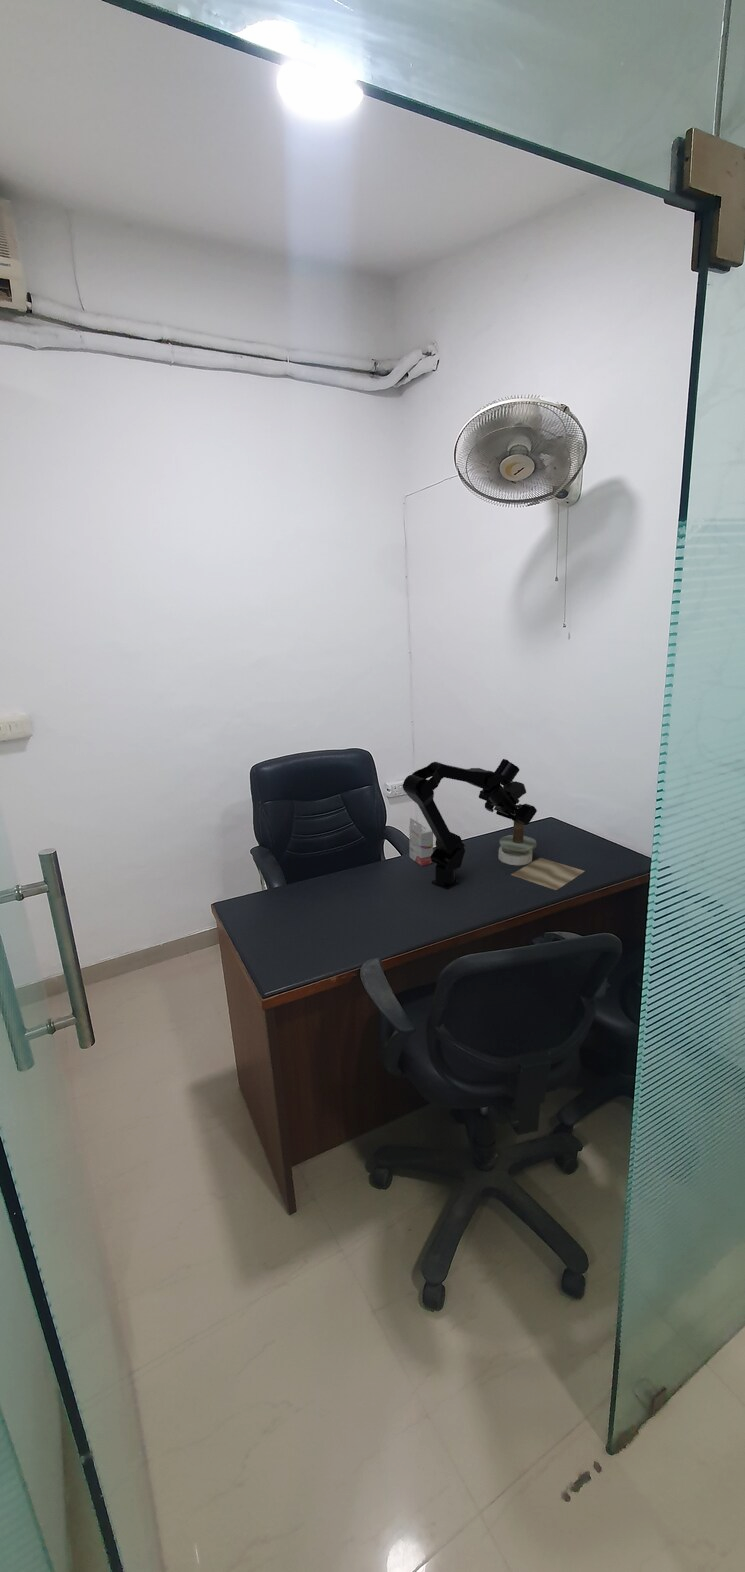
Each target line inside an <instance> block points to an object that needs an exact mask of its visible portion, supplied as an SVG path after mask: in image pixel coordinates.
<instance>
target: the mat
mask: <svg viewBox="0 0 745 1572" xmlns="http://www.w3.org/2000/svg"><path fill="white" fill-rule="evenodd" d="M585 871H586V870H583V869H579V868H576V867H573V866H570V865H566V864H563V863H559V862H558V861H557V862H556V861H553V860H550V859H547V858H543V857H539V858H537V859H535V860H533V861H532V862H530V863H528V864H526V865H525V866H523V867H522V868H520V869H518V870H517V871H515V872H513V873H511V874H510V875H511V876H513V877H516V878H519V879H522V880H525V881H527V882H530V883H534V884H537V885H538V886H539V885H540V886H542V887H545V888H548V889H551V890H555V891H557V890H559V889H560V888H562V887H564V886H565V885H567V884H568V883H570V882H571V881H573V880H574V879H576V878H577V877H579V876H580V875H582V874H583V873H585Z"/></svg>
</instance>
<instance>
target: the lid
mask: <svg viewBox="0 0 745 1572" xmlns="http://www.w3.org/2000/svg"><path fill="white" fill-rule="evenodd" d="M514 816H515V815H514ZM512 828H513V829H512V831H513V832H512V834H509V835H504V836H502V837H501V838H500V839H499V845H500V847H501V846H502V847H503V848H505V849H508V850H513V851H529V850H534V849H536V847H537V840H536V839H535V838H532V837H530V836H527V835H524V832H525V825H524V824H521V823H518V822H516V821H513V827H512Z"/></svg>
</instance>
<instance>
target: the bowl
mask: <svg viewBox="0 0 745 1572" xmlns="http://www.w3.org/2000/svg"><path fill="white" fill-rule="evenodd" d="M533 850H534V849H532V850H529V851H513V850H508V849H505V848H503V847H502V846H501V845H500V846H499V847H498V858H497V859H498V860H499V861H501V862H502V863H504V864H507V865H511V866H512V865H513V866H524V865H525V866H526V865H528V864H530V863H532V862H533Z"/></svg>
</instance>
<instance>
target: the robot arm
mask: <svg viewBox="0 0 745 1572" xmlns="http://www.w3.org/2000/svg"><path fill="white" fill-rule="evenodd" d="M519 772H520V768H519V767H518V766H517V765H515V764H514V763H512V762H510V761H509V759H506V758H502V760H501V761H500V763H499V765H498V766H497V768H496V769H495V771H491V770H486V769H483V768H480V767H471V768H463V767H458V766H453V765H448V764H444V763H441V762H438V761H433V762H431V763H429V764H428V765H427V766H425V767H423V768H420V769H417V770H415V771H414V772H413V773H412V774H409V775H407V776H406V777H405V779H404V780H403V783H402V789H403V791H404V792H405V794H406V795H407V796H408V797H409V798H410V799H411V800H412V801H413V802H414V803H416V805H417V806H418V808H419V809H420V811H421V813H422V815H423V817H424V819H425V820H426V823H427V824H428V826H429V829H431V830H432V832H433V836H434V837H435V849H434V850H433V854H432V855H431V856H430V858H431V861H432V862H433V864H436V865H435V879H433V880H432V881H431V883H432V884H434V885H436V886H438V887H440V888H443V889H446V890H448V889H450V888H452V887H454V886H456V885H458V884H460V883H461V881H460V880H459V879H457V869H460V868H461V866H462V862H463V860H464V856H465V852H466V850H465V847H466V845H465V844H464V843H463V840H462V837H461V836H460V835H458V834H456V833H454V832H452V831H450V829H449V827H448V825H447V824H446V822H445V820H444V818H443V816H442V814H441V812H440V809H439V808H438V806H437V804H436V802H435V800H434V797H435V796H434V795H435V791H434V790H436V789H437V788H438V787H439V785H440V783H441V781H442V779H445V778H446V779H450V780H454V781H461V782H465V783H467V784H469V785H472V786H474V787H476V788H479V789H481V790H480V791H479V794H478V798H479V799H480V800H483V801H485V803H484V809H485V810H486V811H489V812H491V813H493V812H494V811H496V812H495V814H496V815H498V816H500V817H503V818H506V819H509V820H511V821H513V822H514V821H516V822H518V823H521V824H524V826H528V825H529V824H530V822H531V821H532V820H533V818H534V817H535V815H536V813H537V812H538V810H537V808H536V807H535V806H534V805H531V804H528V803H523V804H521V803H519V802H520V798H522V797H523V796H524V795H526V794H527V789H526V786H525V784H524V783H522V782H520V781H514V779H515V778H516V776H517V775H518V773H519ZM514 815H515V816H514Z"/></svg>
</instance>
